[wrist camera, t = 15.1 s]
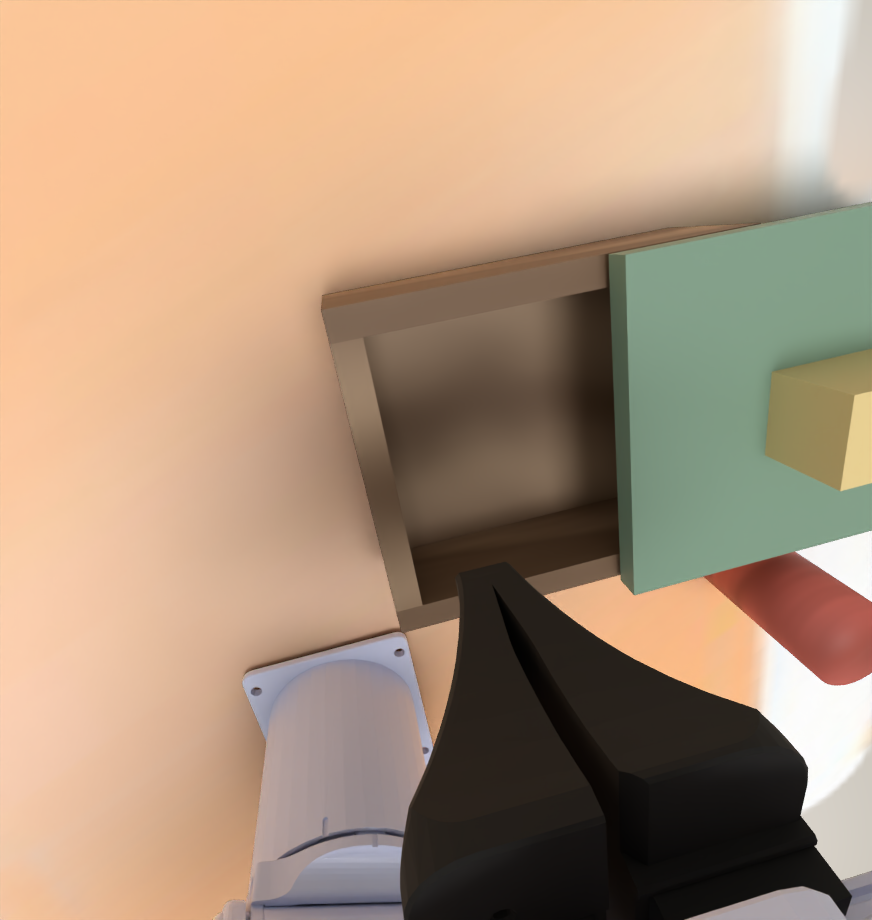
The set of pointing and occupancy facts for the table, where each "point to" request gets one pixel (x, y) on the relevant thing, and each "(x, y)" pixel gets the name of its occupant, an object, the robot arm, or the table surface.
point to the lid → (742, 394)
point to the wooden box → (487, 419)
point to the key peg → (805, 614)
